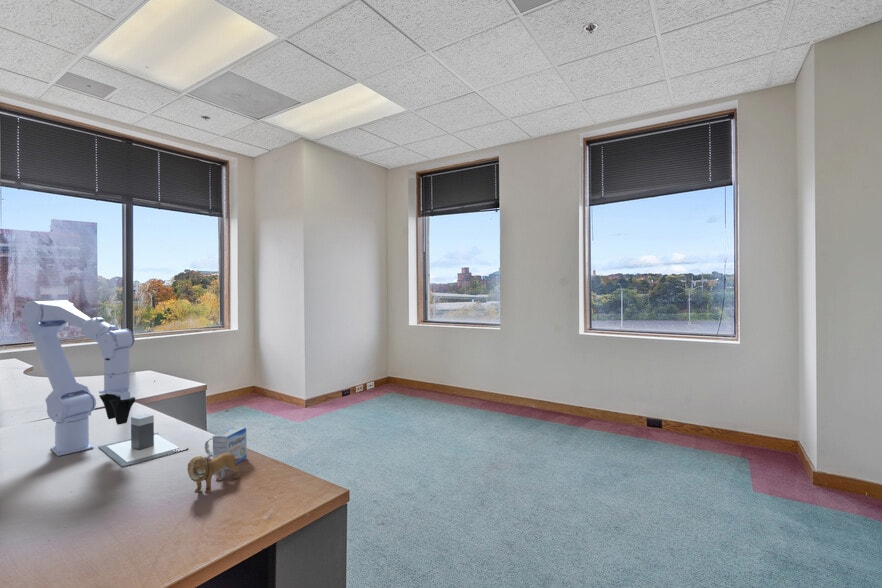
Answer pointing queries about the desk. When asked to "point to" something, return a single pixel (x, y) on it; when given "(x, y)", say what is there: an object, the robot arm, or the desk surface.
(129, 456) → the desk mat
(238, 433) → the medicine box
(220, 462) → the lion figurine
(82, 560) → the desk surface
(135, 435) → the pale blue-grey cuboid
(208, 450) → the wristwatch
